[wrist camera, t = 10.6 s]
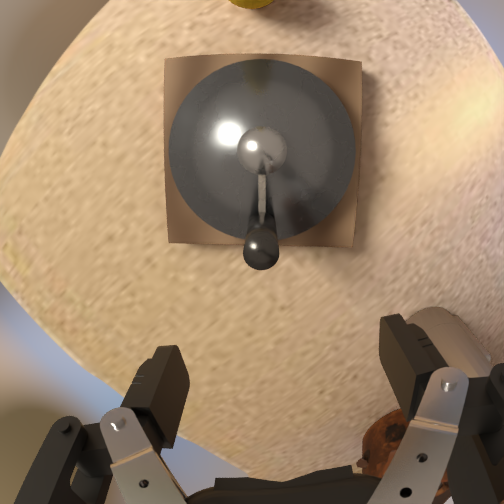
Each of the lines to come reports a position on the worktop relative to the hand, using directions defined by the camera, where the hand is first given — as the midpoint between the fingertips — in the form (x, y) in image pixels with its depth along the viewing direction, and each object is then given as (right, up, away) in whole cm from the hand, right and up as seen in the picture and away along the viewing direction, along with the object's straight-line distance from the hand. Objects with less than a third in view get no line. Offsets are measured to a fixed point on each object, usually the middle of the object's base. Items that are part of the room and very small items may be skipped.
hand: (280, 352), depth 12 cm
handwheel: (0, +13, +15) cm, 20 cm away
